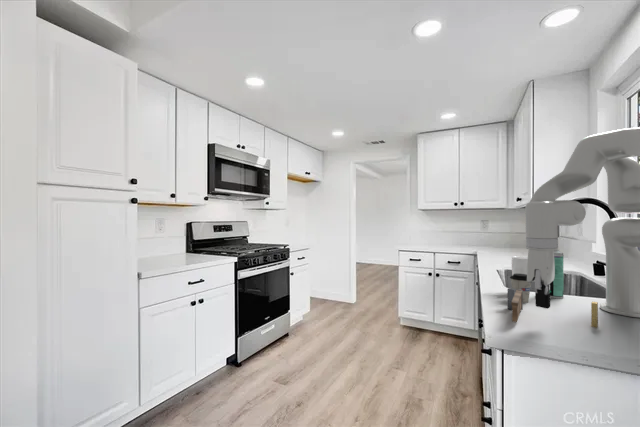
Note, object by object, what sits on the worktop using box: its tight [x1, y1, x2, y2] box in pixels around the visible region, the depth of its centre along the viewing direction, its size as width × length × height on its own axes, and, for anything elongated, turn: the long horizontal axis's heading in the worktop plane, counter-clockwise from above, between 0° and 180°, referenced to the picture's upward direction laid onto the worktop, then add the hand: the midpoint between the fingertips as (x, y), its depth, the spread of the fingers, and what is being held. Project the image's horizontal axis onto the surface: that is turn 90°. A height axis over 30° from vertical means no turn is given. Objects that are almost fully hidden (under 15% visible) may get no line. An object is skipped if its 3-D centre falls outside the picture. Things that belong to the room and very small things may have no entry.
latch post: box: [590, 301, 599, 329], centre depth 88 cm, size 2×1×7 cm, turn 131°
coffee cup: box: [509, 273, 532, 304], centre depth 113 cm, size 7×7×10 cm
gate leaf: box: [511, 289, 524, 323], centre depth 95 cm, size 19×2×7 cm, turn 143°
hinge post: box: [507, 287, 516, 311], centre depth 104 cm, size 2×2×7 cm
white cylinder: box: [511, 255, 528, 276], centre depth 123 cm, size 7×7×15 cm
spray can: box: [548, 249, 564, 300], centre depth 119 cm, size 6×6×20 cm
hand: (542, 306), depth 87 cm, fingers closed
